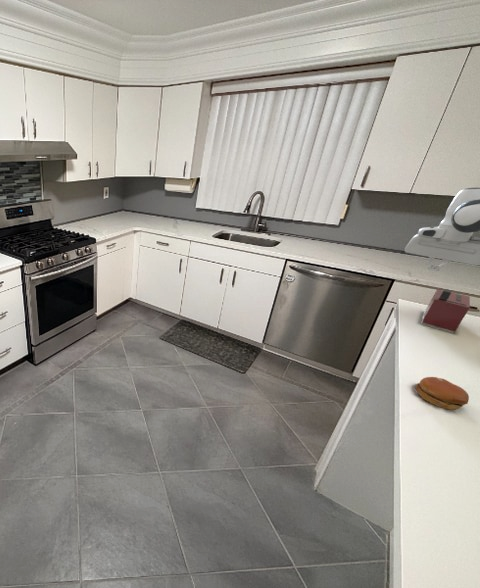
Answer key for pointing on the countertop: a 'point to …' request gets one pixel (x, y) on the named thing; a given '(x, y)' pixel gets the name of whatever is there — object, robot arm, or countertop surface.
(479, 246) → the robot arm
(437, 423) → the countertop surface
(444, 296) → the browning slider
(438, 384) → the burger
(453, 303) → the toaster
